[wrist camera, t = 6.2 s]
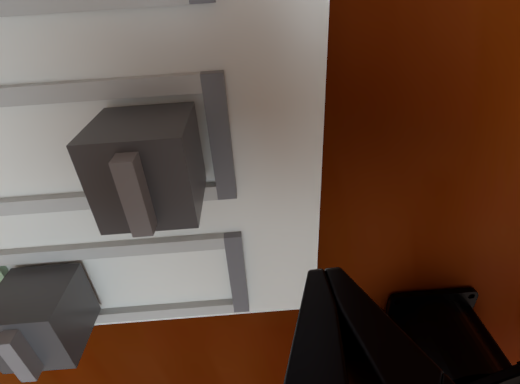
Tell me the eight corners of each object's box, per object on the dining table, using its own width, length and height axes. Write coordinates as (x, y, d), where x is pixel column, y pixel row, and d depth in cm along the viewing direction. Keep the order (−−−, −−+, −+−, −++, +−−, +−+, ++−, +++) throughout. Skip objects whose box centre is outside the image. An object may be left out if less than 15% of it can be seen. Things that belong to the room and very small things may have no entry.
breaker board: (331, -268, 11) (348, -310, 9) (311, 290, 25) (316, 313, 23) (-338, -230, 11) (-445, -267, 9) (20, 313, 25) (4, 338, 23)
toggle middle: (194, 101, 15) (178, 147, 11) (206, 178, 18) (196, 240, 13) (103, 107, 15) (55, 156, 11) (127, 184, 17) (93, 248, 13)
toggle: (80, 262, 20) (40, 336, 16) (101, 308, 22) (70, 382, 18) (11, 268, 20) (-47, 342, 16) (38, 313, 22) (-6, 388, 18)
